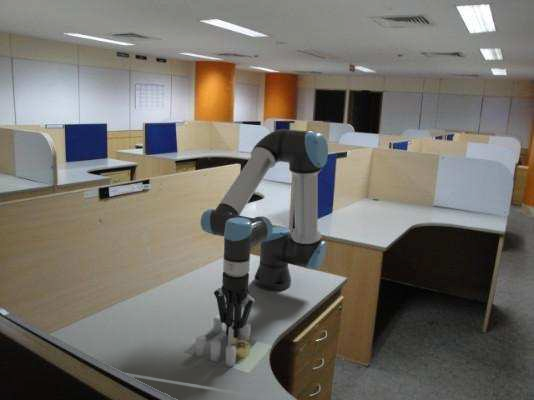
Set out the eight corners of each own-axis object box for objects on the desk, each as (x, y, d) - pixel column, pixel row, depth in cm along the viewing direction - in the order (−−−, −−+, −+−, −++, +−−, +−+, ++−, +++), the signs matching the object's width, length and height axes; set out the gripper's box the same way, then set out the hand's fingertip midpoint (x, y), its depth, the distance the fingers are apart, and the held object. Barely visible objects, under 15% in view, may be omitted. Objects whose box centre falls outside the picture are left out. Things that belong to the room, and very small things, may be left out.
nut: (237, 346, 135) (238, 337, 134) (251, 351, 133) (252, 342, 132) (228, 356, 130) (228, 346, 129) (242, 360, 128) (243, 351, 127)
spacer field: (213, 329, 145) (213, 313, 144) (272, 347, 137) (273, 330, 135) (184, 353, 131) (184, 336, 129) (248, 375, 122) (249, 357, 121)
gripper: (209, 271, 127) (206, 345, 132) (250, 281, 121) (245, 358, 127) (223, 263, 133) (219, 334, 139) (262, 272, 128) (257, 346, 133)
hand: (232, 345), depth 133 cm, fingers closed
